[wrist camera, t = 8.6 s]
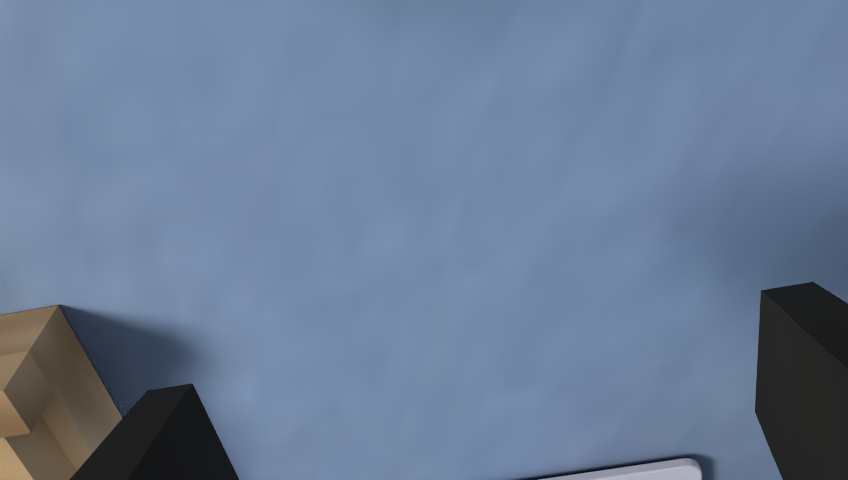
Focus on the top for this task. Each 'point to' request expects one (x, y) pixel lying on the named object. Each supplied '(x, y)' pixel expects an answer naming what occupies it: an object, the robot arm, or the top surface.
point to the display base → (48, 398)
